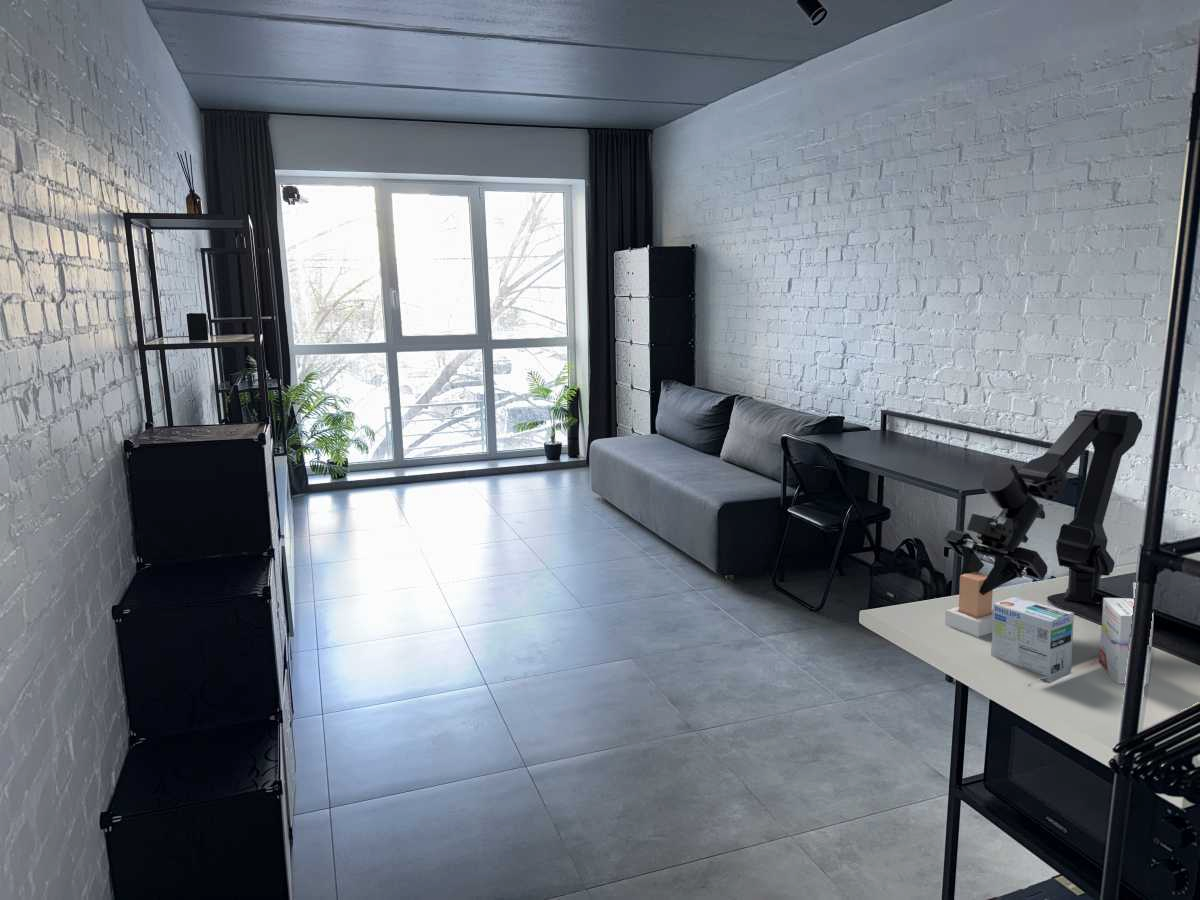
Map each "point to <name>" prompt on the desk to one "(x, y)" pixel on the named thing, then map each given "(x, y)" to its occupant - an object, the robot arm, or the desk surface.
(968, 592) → the plug
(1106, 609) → the ink cartridge box
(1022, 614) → the light bulb box
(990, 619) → the white square socket
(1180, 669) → the desk surface
